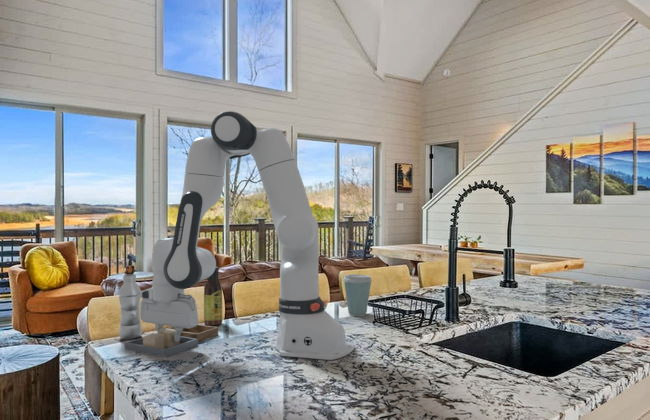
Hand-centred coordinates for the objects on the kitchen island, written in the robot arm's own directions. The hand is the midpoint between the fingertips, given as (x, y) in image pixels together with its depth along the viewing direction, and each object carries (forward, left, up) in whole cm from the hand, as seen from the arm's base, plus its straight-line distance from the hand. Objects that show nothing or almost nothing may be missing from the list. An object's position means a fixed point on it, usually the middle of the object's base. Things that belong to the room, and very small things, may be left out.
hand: (169, 340), depth 134 cm
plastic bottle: (+17, 0, -2) cm, 17 cm away
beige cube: (0, +6, -1) cm, 6 cm away
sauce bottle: (+7, -26, -2) cm, 27 cm away
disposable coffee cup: (-33, -60, -2) cm, 69 cm away
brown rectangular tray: (+1, -10, -2) cm, 10 cm away
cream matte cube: (0, 0, -1) cm, 1 cm away
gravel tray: (0, +3, -2) cm, 3 cm away
